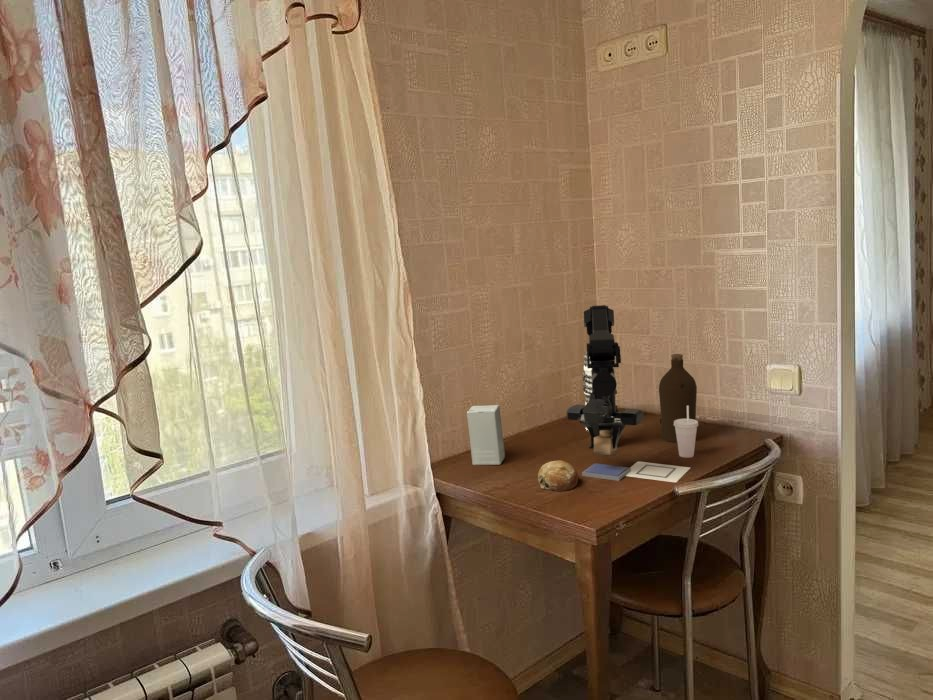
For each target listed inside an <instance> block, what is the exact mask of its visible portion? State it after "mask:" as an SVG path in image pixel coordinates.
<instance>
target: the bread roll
mask: <svg viewBox="0 0 933 700" xmlns="http://www.w3.org/2000/svg"><path fill="white" fill-rule="evenodd" d="M537 480H538V484H539V485H538V486H540V489H545V490H549V491H554V492H565V491H569V490H572V489H574V488H575V487H576V486H577V485H578V482H579V475H578V472H577V470H576V469H575V467H574V466H573V465H572V464H571V463H569V462H567V461H566V460H565V461H564V460H561V459H559V460H553V461H551V460H550V461H548V462H546V463H543V465H542V466H541V467H540V468H539V470H538V473H537Z"/></svg>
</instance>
